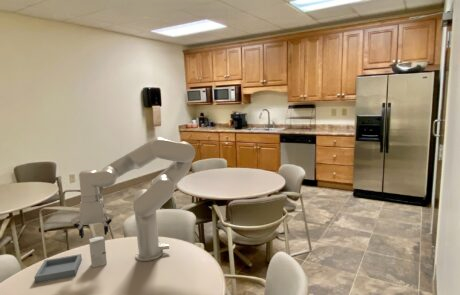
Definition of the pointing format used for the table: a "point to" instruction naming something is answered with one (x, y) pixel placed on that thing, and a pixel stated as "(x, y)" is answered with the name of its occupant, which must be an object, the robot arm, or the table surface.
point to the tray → (58, 268)
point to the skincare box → (97, 251)
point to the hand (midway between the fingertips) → (94, 235)
